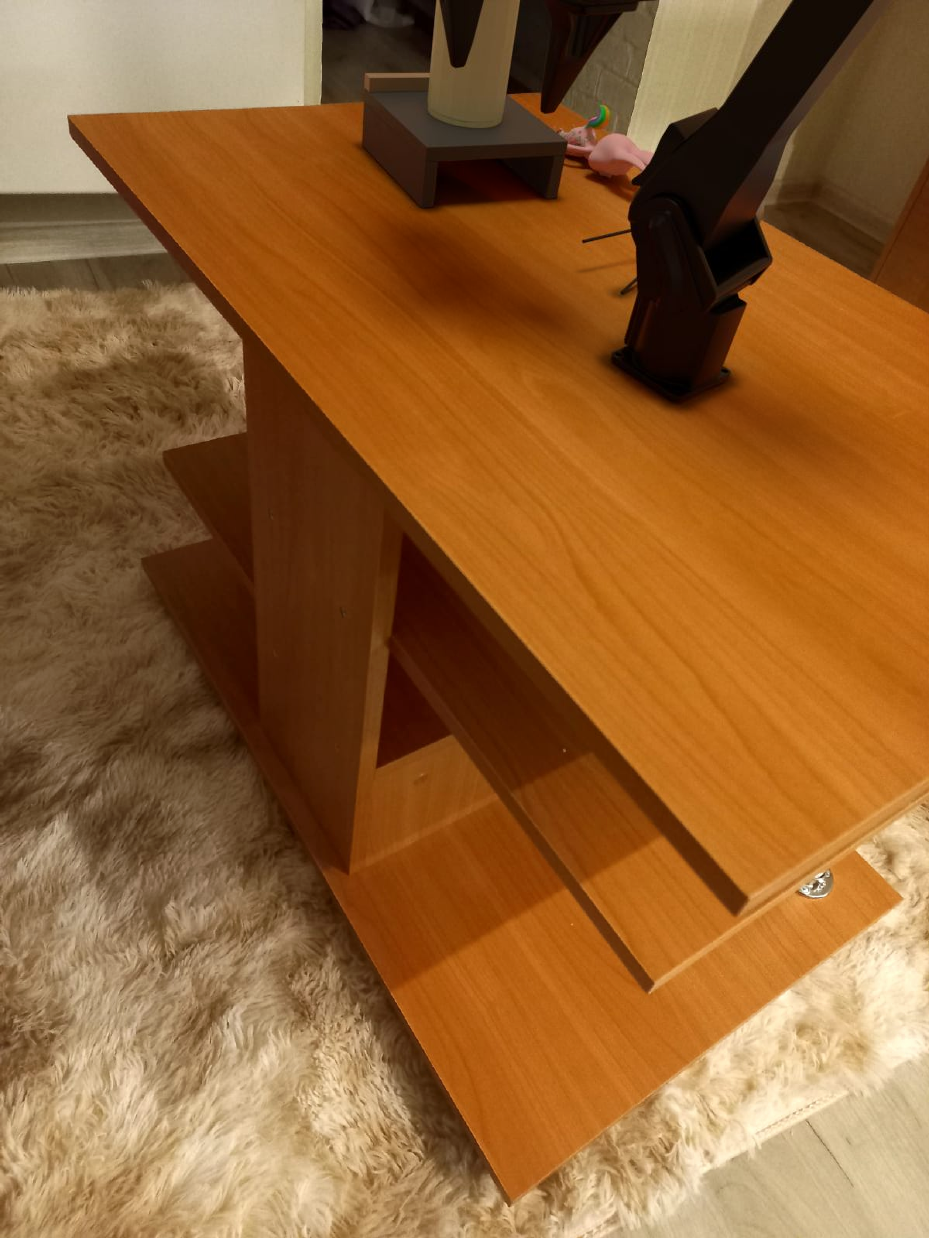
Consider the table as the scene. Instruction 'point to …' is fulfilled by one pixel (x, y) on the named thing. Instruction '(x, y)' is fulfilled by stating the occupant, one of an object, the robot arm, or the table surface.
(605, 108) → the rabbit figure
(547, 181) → the shelf
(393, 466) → the table surface
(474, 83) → the bottle
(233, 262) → the table surface
